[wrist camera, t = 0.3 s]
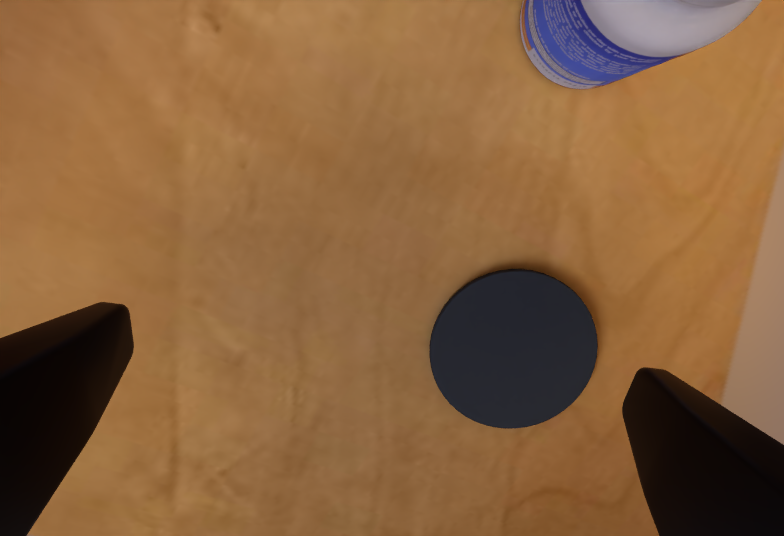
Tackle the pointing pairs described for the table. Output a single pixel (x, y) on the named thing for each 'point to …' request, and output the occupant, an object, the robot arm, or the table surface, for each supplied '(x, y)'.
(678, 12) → the pill bottle
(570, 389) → the mat
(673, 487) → the robot arm
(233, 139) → the table surface
